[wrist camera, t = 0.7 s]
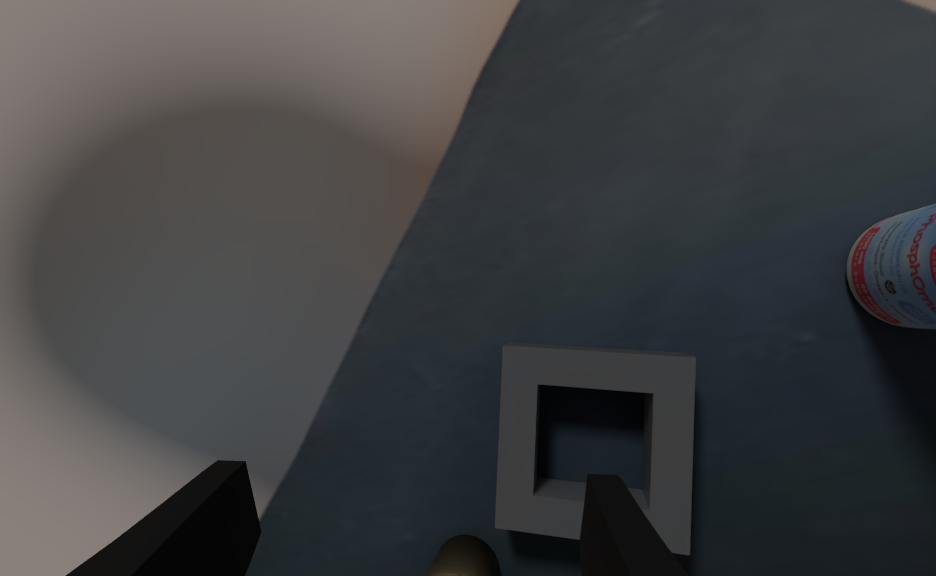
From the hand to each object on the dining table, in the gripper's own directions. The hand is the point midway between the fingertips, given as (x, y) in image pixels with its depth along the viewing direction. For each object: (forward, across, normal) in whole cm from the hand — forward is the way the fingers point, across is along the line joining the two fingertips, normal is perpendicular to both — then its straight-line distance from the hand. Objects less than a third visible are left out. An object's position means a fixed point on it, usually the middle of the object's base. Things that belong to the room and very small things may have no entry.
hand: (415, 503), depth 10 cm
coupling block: (+16, -8, +11) cm, 21 cm away
